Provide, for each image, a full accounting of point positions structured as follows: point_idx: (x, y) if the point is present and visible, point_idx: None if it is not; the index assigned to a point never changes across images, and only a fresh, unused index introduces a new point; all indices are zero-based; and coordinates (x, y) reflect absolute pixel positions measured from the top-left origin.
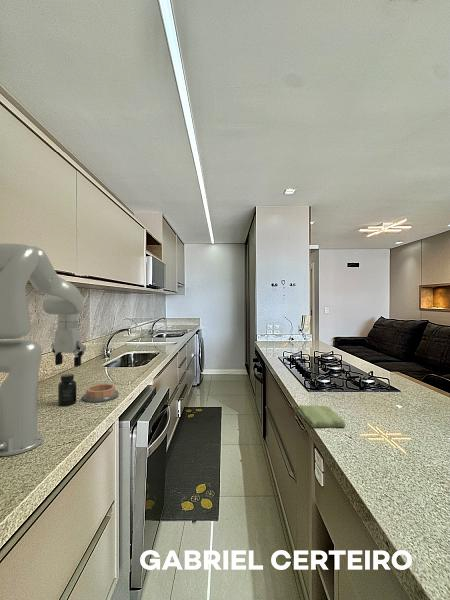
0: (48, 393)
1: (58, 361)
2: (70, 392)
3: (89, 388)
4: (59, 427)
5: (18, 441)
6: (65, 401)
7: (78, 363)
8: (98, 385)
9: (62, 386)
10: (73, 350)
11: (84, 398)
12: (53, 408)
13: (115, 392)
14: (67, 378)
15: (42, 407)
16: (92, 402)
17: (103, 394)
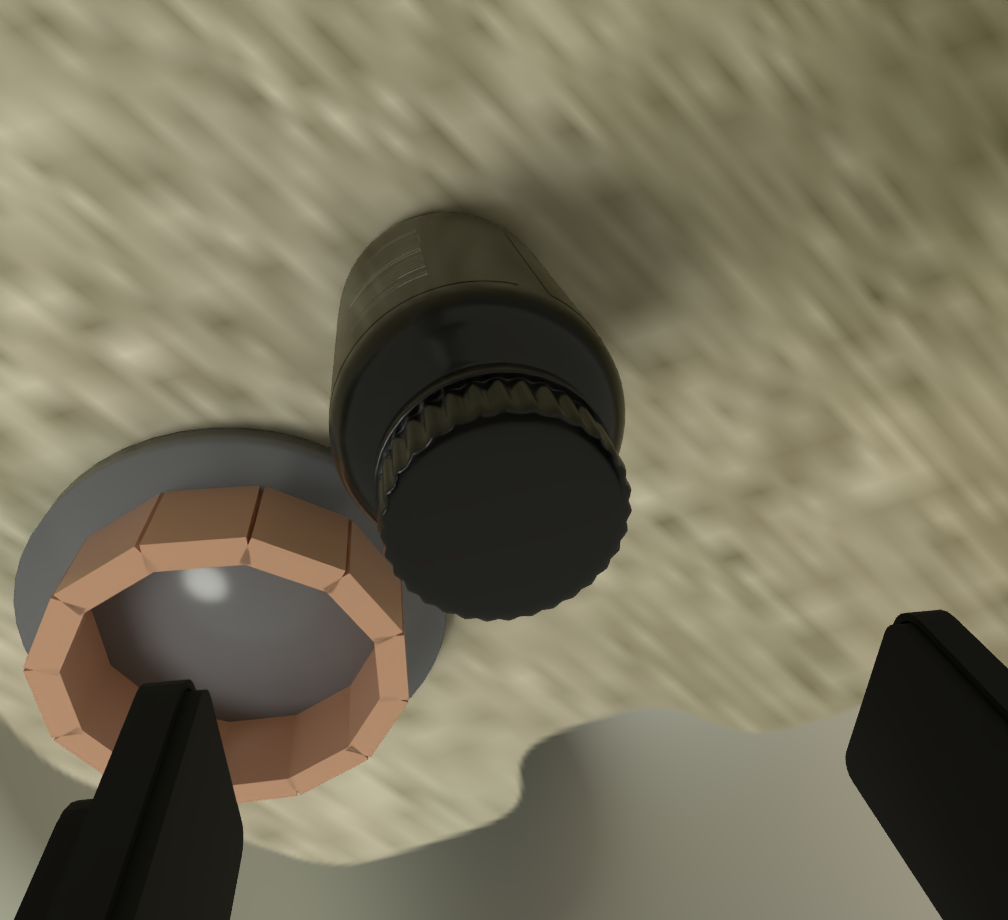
0: (910, 496)
1: (938, 737)
2: (343, 332)
3: (357, 622)
4: None
5: None
6: (384, 241)
7: (65, 829)
8: (355, 732)
9: (446, 290)
10: None
11: (305, 460)
12: (476, 109)
13: None
14: (408, 426)
15: (652, 96)
16: (161, 437)
17: (65, 574)
